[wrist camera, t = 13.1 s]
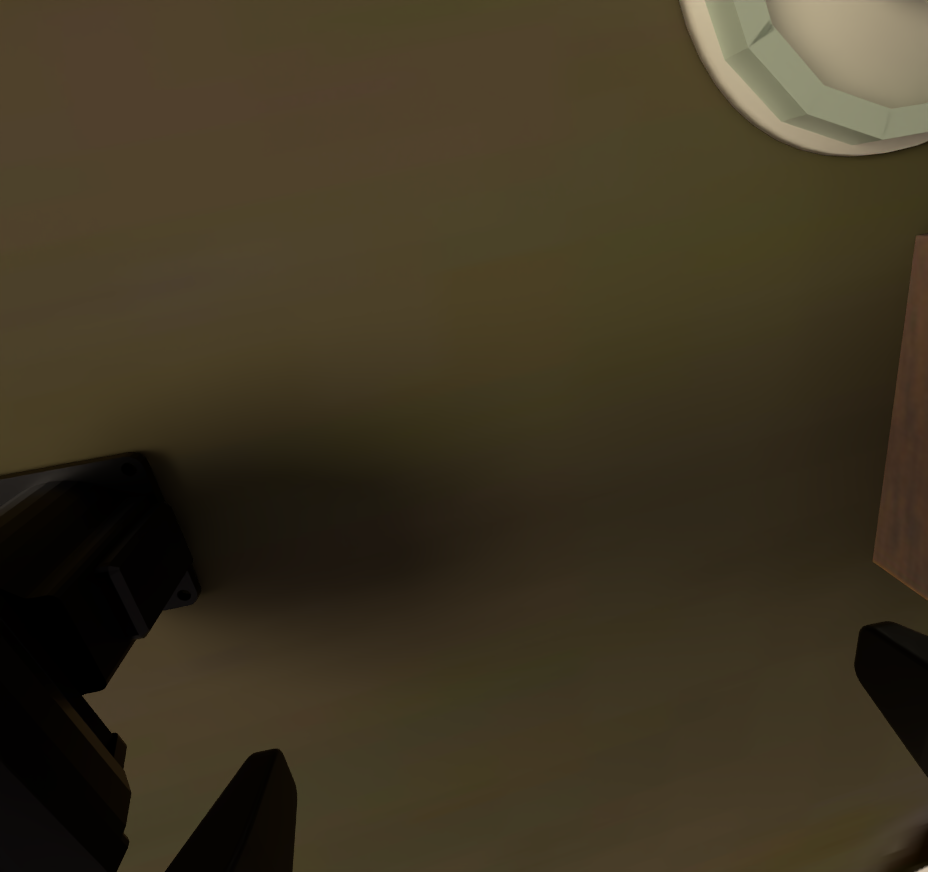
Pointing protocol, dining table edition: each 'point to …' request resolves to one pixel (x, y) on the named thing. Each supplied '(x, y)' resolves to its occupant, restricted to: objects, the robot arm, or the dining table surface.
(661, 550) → the dining table surface
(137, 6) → the dining table surface
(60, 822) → the robot arm
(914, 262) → the tissue box cover
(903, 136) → the round tray
